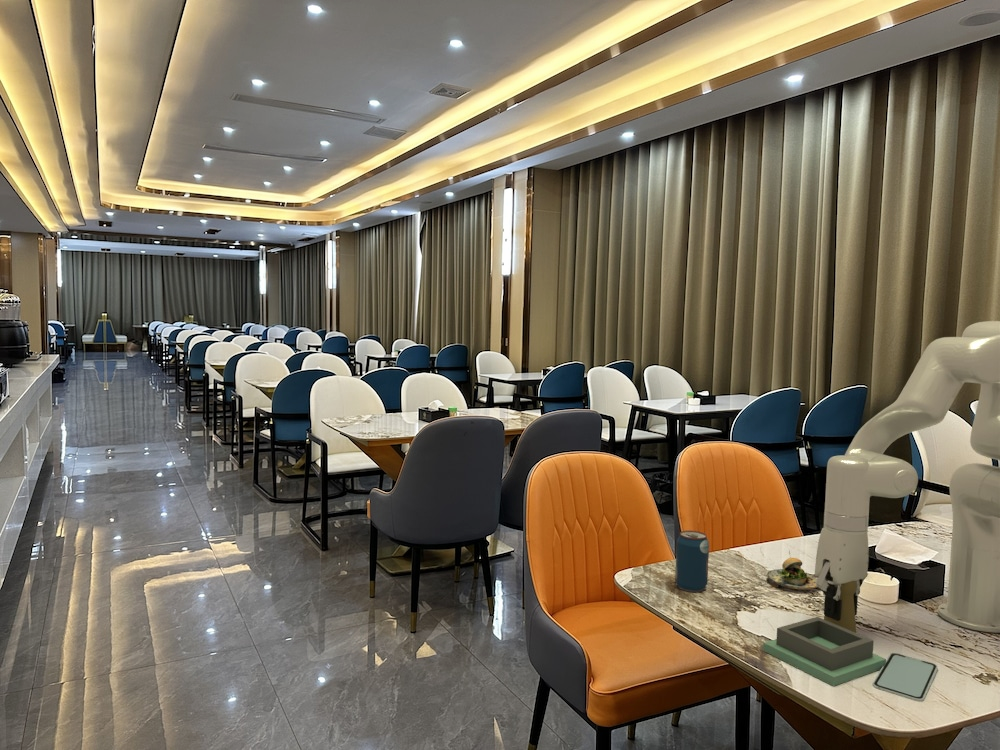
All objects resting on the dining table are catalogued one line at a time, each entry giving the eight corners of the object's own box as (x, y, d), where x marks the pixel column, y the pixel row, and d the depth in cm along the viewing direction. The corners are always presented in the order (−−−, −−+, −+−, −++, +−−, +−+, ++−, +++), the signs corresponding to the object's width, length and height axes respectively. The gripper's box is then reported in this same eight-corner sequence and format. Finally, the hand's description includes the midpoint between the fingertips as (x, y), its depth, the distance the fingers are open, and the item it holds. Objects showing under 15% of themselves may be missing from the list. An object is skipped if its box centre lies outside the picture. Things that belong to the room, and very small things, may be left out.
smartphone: (871, 685, 115) (890, 651, 127) (870, 690, 115) (890, 656, 127) (923, 701, 111) (939, 664, 122) (922, 706, 111) (938, 670, 122)
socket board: (814, 635, 134) (815, 612, 134) (885, 667, 122) (887, 642, 122) (763, 650, 127) (764, 626, 127) (833, 686, 115) (835, 659, 115)
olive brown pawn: (860, 640, 133) (864, 582, 132) (826, 636, 134) (829, 579, 133) (851, 626, 139) (855, 571, 138) (818, 623, 140) (821, 568, 139)
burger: (771, 592, 157) (773, 559, 156) (761, 574, 168) (763, 543, 168) (829, 597, 155) (831, 563, 154) (815, 578, 166) (817, 547, 166)
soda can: (713, 590, 156) (716, 537, 155) (687, 594, 153) (689, 540, 152) (694, 580, 162) (696, 528, 161) (668, 583, 160) (670, 531, 159)
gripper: (855, 512, 142) (849, 601, 143) (799, 521, 134) (794, 616, 135) (891, 521, 136) (885, 615, 137) (835, 532, 127) (829, 631, 129)
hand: (840, 614), depth 136 cm, fingers closed on olive brown pawn, 4 cm apart
